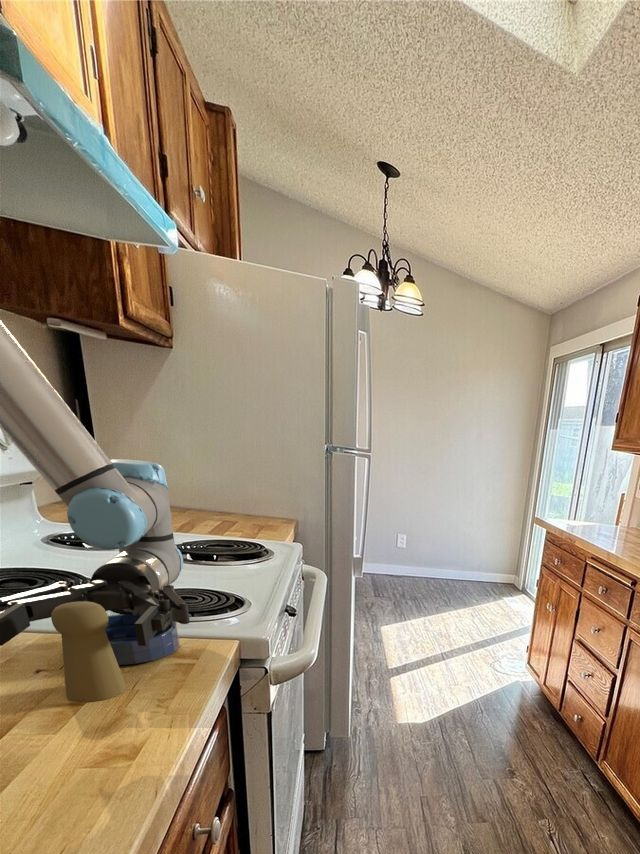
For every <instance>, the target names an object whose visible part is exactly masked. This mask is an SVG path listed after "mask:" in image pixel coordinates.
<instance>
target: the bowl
mask: <svg viewBox="0 0 640 854" xmlns="http://www.w3.org/2000/svg"><path fill="white" fill-rule="evenodd" d="M141 616H142V614H140V615H135V614H134V615H122V614H111V615H108V619H109V620H108V625H107V627H106V629H105V632H106V634H107V637H108V640H109V642H110V645H111V647H112V650H113V653H114V655H115V658H116V660H117V663H118V666H128V665H136V664H137V665H138V664H143V663H147V662H153V661H156V660H158V659H161V658H165V657H167V656H169V655H171V654H173V653H175V652H176V651H177V650H178V649H179V648H180V637H179V631H178V622H177V621H173V624H172V625H169V626H167V628H166V629H165V630H163V631H157V633H156V634H155V635H154V636H153V638H152V639H151V640H150V641H149V643H148V644H147V645H146V646H138V640H137V635H136V630H135V622H136V621H137V620H138V619H139V618H140V617H141Z"/></svg>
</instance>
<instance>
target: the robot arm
mask: <svg viewBox="0 0 640 854" xmlns="http://www.w3.org/2000/svg"><path fill="white" fill-rule="evenodd" d="M60 395H61V394H59V393H58V391H57V390H56V388H55V387H54V386H53V384H51V382H50V380H48V378H47V377H46V376H45V375H44V373H43V372H42V371H41V369H40V368H39V367H38V366H37V365H36V363H35V362H34V360H32V358H31V357H30V355H29V354H28V352H26V350H25V349H24V348H23V346H22V345H21V344H20V343H19V341H18V340H17V338H16V337H15V336H14V335H13V334H12V332H11V331H10V330H9V328H8V327H7V326H6V325H5V323H4V322H3V321H2V319H0V430H1V431H2V432H3V433H4V435H6V437H7V438H8V439H9V440H10V441H11V443H12V444H13V445H14V446H15V447H16V448H17V449H18V451H19V452H20V453H21V454H22V455H23V457H25V459H27V461H28V462H29V463H30V465H32V467H33V468H34V469H35V470H36V471H37V473H38V474H39V475H40V476H41V478H43V480H45V482H46V483H47V484H48V485H49V487H50V488H51V489H52V490H53V491H54V492H55V494H56V495H57V496H58V497H59V498H60V500H62V502H63V503H64V504H65V506H66V507H67V510H66V515H67V521H68V524H69V526H70V528H71V530H72V531H73V533H74V534H75V535H76V536H77V537H78V538H79V539H80V540H82V541H83V542H84V543H86V544H88V545H90V546H92V547H94V548H97V549H99V550H107V551H112V550H113V551H114V550H118V552H119V553H118V554H117V555H115V556H113V557H112V558H110V559H109V560H107V562H105V563H103V564H102V565H100V566H98V568H97V569H95V570H94V572H93V574H92V575H91V578H90V580H89V582H88V583H85V584H80V585H73V586H70V587H69V585H68V582H67V581H63V580H61V581H58V582H54V583H53V584H50V585H48V586H44V587H40V588H35V589H32V590H28V591H24V592H20V593H19V592H18V593H16V594H15V593H14V594H12V595H11V594H10V595H8V596H7V595H6V596H4V597H0V647H2V646H4V645H5V644H7V643H8V642H9V641H11V640H12V639H14V638H15V637H16V636H19V634H21V633H22V632H24V631H25V630H27V628H29V627H30V626H31V622H35V621H36V622H37V621H40V620H45V619H51V615H52V612H53V610H54V609H55V608H56V607H57V606H59V605H61V604H65V603H70V602H83V601H85V602H93V603H97V604H99V605H101V606H102V607H103V608H104V609H105V611H106V612H108V611H109V612H112V613H115V614H116V615H118V614H122V615H134V614H135V615H140V614H142V616H141V617H140V618H139V619H138V620H137V621H136V622H135V630H136V635H137V640H138V646H146V645H147V644H148V643H149V641H150V640H151V639H152V638H153V636H154V635H155V634H156V633H157V631H163V630H165V629H166V628H167V626H169V625H172V624H173V621H175V622H177V623H179V624H181V625H188V624H190V622H191V621H190V613H189V607H188V603H187V602H186V601H185V600H184V599H183V598H182V597H181V596H179V595H178V594H177V593H176V591H175V586H174V585H172V584H173V583H174V582H175V581H177V579H178V578H179V576H180V574H181V572H182V570H183V568H184V567H183V566H184V558H183V554H182V551H180V549H179V547H178V546H177V545H176V543H175V537H174V531H173V523H172V513H171V505H170V496H169V490H170V488H169V487H170V486H169V485H168V483H167V477H166V472H165V469H164V467H163V466H162V465H160V464H159V463H157V462H153V461H148V460H138V459H123V458H120V459H119V458H117V459H110V457H109V456H108V455H107V454H106V453H105V452H104V450H103V449H102V447H100V445H99V444H98V442H97V441H96V440H95V439H94V437H93V436H92V435H91V434H90V432H89V431H88V430H87V429H86V427H85V426H84V425H83V423H82V422H81V421H80V419H79V418H78V417H77V415H75V413H74V411H72V410H71V408H70V406H69V405H68V404H67V403H66V402H65V400H64V399H63V398H62V396H60Z"/></svg>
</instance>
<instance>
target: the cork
mask: <svg viewBox="0 0 640 854" xmlns="http://www.w3.org/2000/svg"><path fill="white" fill-rule="evenodd" d="M108 616H109V615H108V612H107V611H105V609H104V608H103V607H102V606H101V605H99V604H97V603H93V602H85V601H83V602H70V603H65V604H61V605H59V606H57V607H56V608H55V609H54V610H53V612H52V615H51V617H50V620H51V623H52V625H53V627H54V629H55V630H56V632H58V633H59V634H60V635H61V646H62V649H61V650H62V661H63V663H62V664H63V675H64V689H65V690H64V691H65V696H66V698H67V699H68V700H70V701H74V702H81V703H88V702H89V703H90V702H100V701H104V700H105V701H106V700H108V699H112V698H115V697H117V696H119V695H121V694H123V693H124V692H125V691H126V689H127V688H128V687H127V684H126V682H125V679H124V676H123V674H122V670H121V668H120V665H118V663H117V660H116V658H115V655H114V653H113V650H112V647H111V645H110V642H109V640H108V637H107V634H106V632H105V629H106V627H107V625H108V620H109V619H108Z"/></svg>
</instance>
